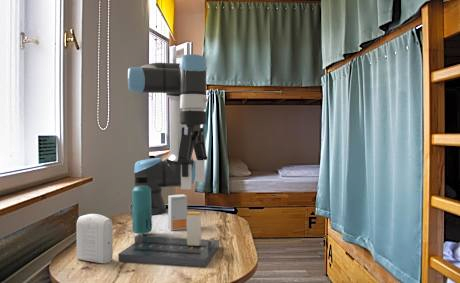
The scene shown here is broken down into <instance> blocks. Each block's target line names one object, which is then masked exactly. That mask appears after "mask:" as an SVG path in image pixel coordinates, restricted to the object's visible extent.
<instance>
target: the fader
mask: <svg viewBox="0 0 460 283" xmlns="http://www.w3.org/2000/svg"><path fill="white" fill-rule="evenodd" d="M201 216H202V211H187V229H186V239H187V245H196V246H199V245H200V244H201V239H202V223H201V222H202V221H201V220H202V217H201Z"/></svg>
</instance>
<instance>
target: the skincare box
mask: <svg viewBox="0 0 460 283" xmlns="http://www.w3.org/2000/svg"><path fill="white" fill-rule="evenodd" d="M167 200H168V201H167V202H168V203H167V207H168V208H167V210H168V211H167V216H168V217H167V218H168V219H167V220H168V221H167V224H168V225H167V228H168V229H169V230H170V231H171V232H172V231H179V230H180V231H181V230H187V213H188V196H187V195H186V194H183V193H182V194H172V195H171V194H170V195H168V196H167Z"/></svg>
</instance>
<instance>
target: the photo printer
mask: <svg viewBox="0 0 460 283" xmlns="http://www.w3.org/2000/svg"><path fill="white" fill-rule="evenodd" d="M75 225H76V254H75V255H76V259H77V260H81V261H87V262H92V263H96V264H97V263H98V264H108V263H110V262H111V261H112V259H113V254H114V252H113V251H114V250H113V249H114V248H113V247H114V246H113V243H114V242H113V241H114V240H113V238H114V236H113V235H114V234H113V230H114V229H113V228H114V227H113V225H114V223H113V221H112V220H111V218H109V217H107V216H105V215H102V214H98V213H88V214H84V215H80V216H79V217H78V218H77V221H76V224H75Z"/></svg>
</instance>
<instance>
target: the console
mask: <svg viewBox="0 0 460 283" xmlns="http://www.w3.org/2000/svg"><path fill="white" fill-rule="evenodd" d="M219 248H220V240H219V239H218V240H217V239H215V237H210V238H209V239H203V238H201V244H200V245H199V246H196V245H187V237H186V238H183V237H163V236H149V235H148V236H146V235H143V234H138V235H136V236H134V243H132V244H131V245H129V246H128V247H126V248H125V249H124V250H122V251H120V252H119V253H118V254H117V255H118V262H123V263H140V264H150V263H151V264H154V265H168V266H181V267H195V268H207V266H208V264H209V263H210V261H212V258H213V257H214V255H215V254H216V252H217V250H219Z"/></svg>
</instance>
